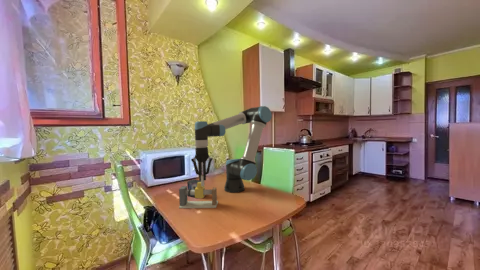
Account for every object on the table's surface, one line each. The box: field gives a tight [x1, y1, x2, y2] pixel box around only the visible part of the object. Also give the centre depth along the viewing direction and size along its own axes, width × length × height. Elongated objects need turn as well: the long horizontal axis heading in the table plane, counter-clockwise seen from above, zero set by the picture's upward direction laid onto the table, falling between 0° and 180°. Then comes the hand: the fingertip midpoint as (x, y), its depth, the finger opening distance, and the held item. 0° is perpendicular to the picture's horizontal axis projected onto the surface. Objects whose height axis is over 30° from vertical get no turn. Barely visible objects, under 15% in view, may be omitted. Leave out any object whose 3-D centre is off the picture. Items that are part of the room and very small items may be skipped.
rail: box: [178, 185, 219, 209], centre depth 124 cm, size 22×9×11 cm, turn 88°
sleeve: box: [194, 182, 206, 199], centre depth 123 cm, size 5×5×9 cm
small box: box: [186, 179, 201, 198], centre depth 141 cm, size 11×6×10 cm, turn 62°
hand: (202, 185), depth 123 cm, fingers closed
